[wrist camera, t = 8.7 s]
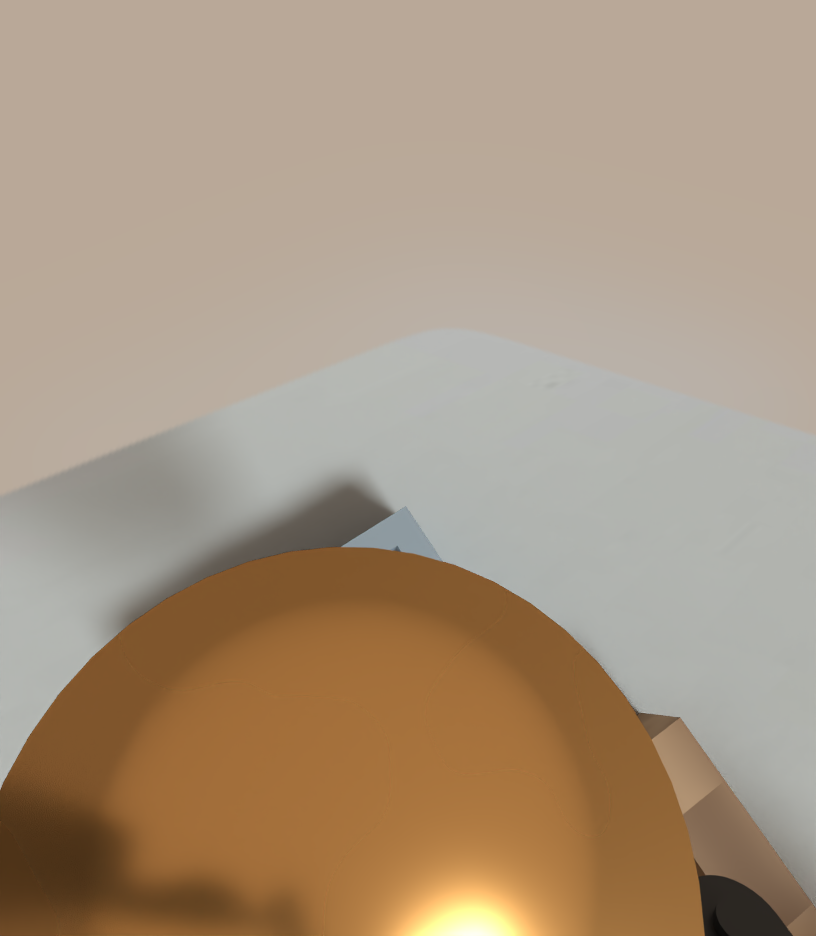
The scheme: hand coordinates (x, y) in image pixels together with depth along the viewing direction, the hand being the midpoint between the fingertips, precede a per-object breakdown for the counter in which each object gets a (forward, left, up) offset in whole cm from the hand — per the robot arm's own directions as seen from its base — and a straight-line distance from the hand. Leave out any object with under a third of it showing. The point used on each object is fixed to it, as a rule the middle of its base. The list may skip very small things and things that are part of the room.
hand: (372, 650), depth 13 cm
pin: (-1, -2, -8) cm, 8 cm away
